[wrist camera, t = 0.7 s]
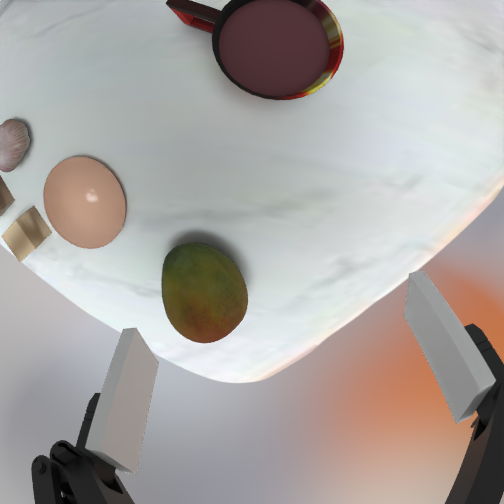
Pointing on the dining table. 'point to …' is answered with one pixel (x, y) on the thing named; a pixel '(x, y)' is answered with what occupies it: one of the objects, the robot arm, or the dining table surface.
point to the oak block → (26, 233)
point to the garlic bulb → (12, 144)
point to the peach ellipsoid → (84, 202)
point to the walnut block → (4, 197)
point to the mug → (270, 43)
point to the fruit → (202, 292)
